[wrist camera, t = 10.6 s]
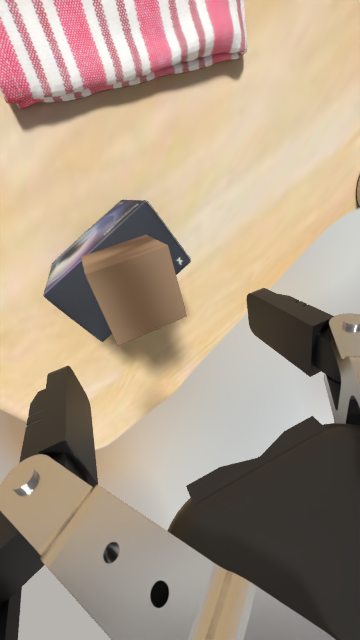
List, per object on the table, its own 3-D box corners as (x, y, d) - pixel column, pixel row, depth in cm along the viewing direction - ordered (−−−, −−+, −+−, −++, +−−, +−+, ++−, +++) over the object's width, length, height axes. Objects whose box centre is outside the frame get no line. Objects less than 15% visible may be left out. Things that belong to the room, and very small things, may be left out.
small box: (120, 194, 27) (147, 193, 18) (159, 242, 30) (196, 261, 22) (47, 262, 27) (37, 294, 18) (94, 302, 31) (104, 346, 22)
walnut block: (146, 234, 19) (167, 245, 15) (163, 293, 22) (186, 316, 18) (80, 256, 18) (85, 274, 14) (107, 315, 21) (117, 345, 17)
